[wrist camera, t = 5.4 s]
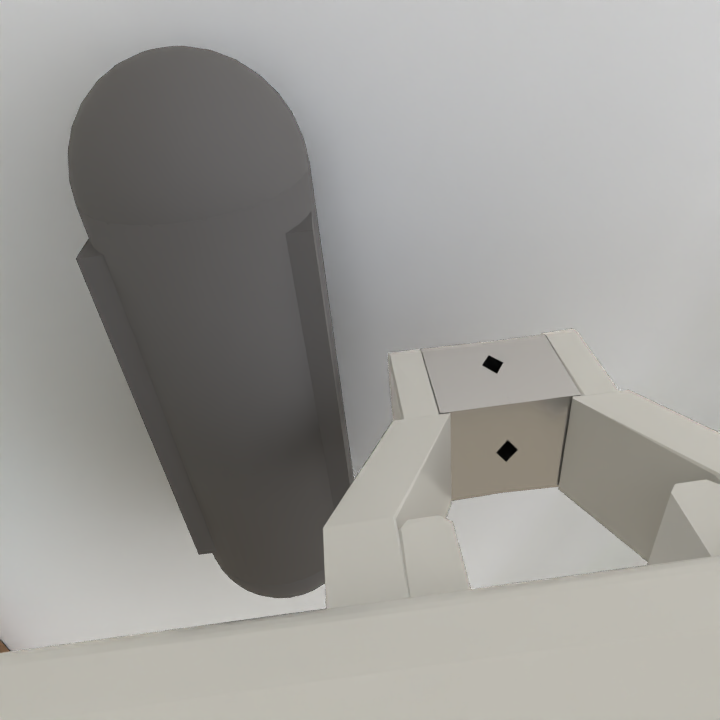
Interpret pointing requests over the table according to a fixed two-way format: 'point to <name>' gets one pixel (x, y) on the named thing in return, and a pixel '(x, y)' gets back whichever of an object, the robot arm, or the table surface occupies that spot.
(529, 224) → the table surface
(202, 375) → the grey rounded bar
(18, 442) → the table surface
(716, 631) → the robot arm
